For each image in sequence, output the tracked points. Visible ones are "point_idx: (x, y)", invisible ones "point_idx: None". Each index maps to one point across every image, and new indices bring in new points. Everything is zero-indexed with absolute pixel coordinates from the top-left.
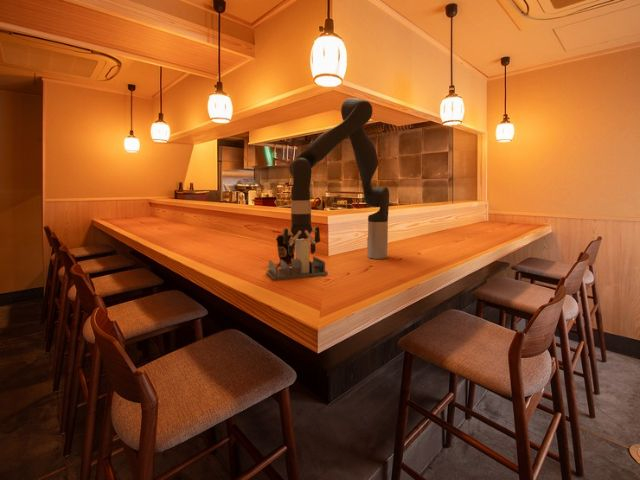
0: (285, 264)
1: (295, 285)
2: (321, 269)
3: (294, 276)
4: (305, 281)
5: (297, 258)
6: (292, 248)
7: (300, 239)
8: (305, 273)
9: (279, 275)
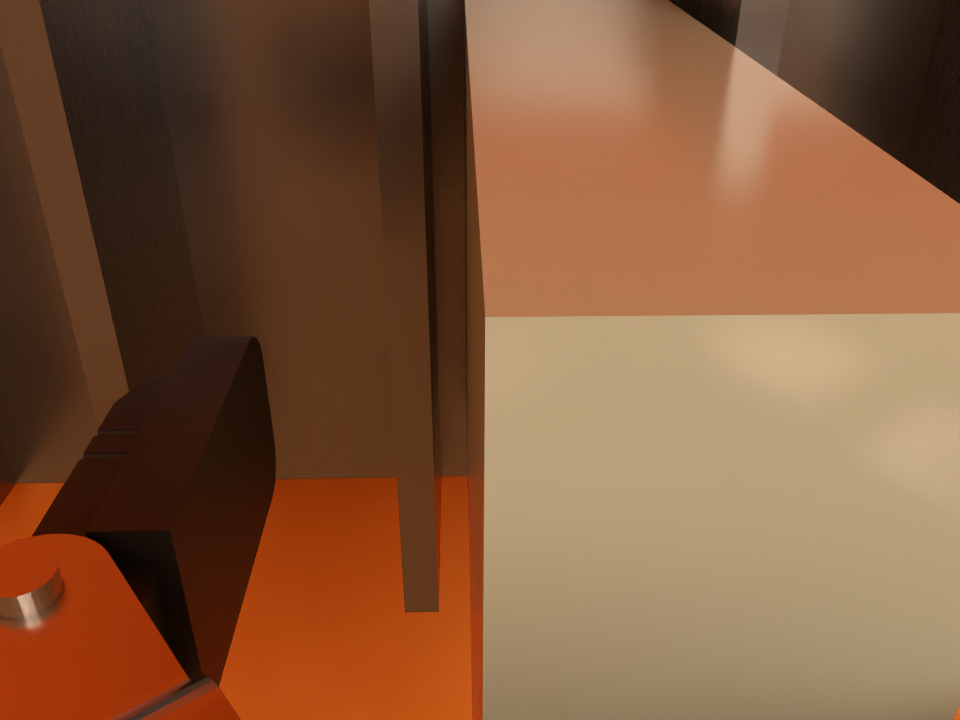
0: None
1: (262, 710)
2: None
3: (309, 465)
4: (428, 615)
5: (467, 239)
6: (217, 641)
7: (727, 656)
8: None
9: (45, 407)
